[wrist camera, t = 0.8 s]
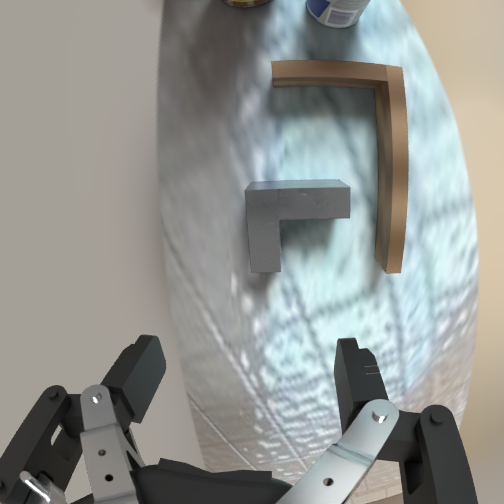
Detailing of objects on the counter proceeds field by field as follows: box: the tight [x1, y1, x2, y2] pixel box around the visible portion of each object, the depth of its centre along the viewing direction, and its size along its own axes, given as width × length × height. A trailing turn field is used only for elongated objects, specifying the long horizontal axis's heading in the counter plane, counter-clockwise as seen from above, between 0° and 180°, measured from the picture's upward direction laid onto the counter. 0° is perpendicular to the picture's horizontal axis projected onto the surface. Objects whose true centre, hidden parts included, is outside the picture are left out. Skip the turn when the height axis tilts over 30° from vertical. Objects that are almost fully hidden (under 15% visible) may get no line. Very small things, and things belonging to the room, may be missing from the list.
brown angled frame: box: [271, 60, 408, 274], centre depth 24 cm, size 18×11×4 cm, turn 4°
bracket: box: [245, 179, 350, 273], centre depth 25 cm, size 7×8×5 cm
